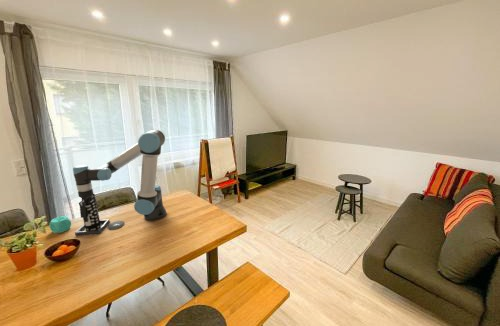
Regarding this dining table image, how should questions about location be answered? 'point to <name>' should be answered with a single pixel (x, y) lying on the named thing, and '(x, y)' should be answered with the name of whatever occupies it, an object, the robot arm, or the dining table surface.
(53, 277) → the dining table surface
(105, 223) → the grey square frame
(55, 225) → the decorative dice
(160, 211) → the robot arm
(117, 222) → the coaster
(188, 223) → the dining table surface
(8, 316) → the dining table surface
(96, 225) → the spotted tube
